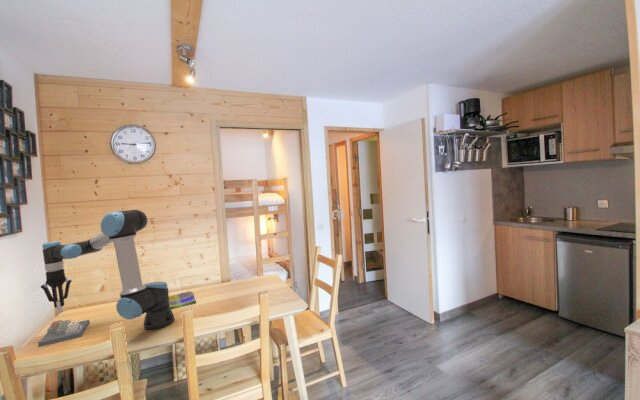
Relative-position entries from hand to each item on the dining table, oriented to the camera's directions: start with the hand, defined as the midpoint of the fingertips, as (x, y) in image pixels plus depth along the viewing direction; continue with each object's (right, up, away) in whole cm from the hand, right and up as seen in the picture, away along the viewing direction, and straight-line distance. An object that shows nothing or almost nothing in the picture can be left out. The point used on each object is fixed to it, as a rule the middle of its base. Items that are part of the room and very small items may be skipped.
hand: (60, 312), depth 162 cm
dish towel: (+49, -7, +36) cm, 61 cm away
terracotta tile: (-4, -9, +2) cm, 10 cm away
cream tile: (+11, -7, -4) cm, 14 cm away
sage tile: (+4, -8, -1) cm, 8 cm away
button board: (+4, -11, -1) cm, 12 cm away
